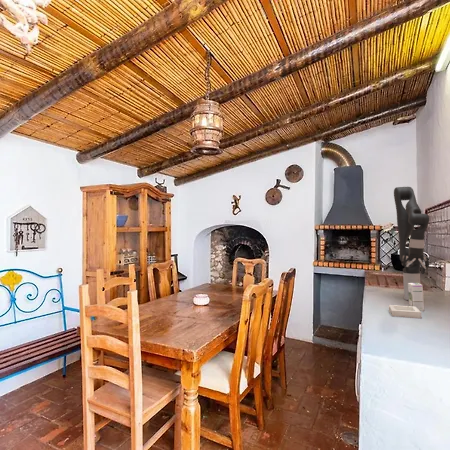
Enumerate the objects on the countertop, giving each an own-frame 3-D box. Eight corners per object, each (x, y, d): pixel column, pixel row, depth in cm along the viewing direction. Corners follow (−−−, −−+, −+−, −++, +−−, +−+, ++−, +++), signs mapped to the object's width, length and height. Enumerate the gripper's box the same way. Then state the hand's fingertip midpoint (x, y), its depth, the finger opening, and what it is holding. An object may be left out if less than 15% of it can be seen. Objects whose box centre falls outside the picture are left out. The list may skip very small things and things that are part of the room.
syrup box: (424, 310, 165) (423, 284, 166) (412, 310, 166) (411, 284, 167) (420, 308, 171) (418, 282, 171) (408, 308, 172) (407, 282, 172)
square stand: (388, 310, 167) (388, 305, 168) (416, 312, 163) (415, 306, 163) (392, 316, 155) (391, 310, 156) (421, 318, 151) (421, 312, 151)
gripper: (426, 246, 183) (424, 272, 184) (401, 245, 185) (399, 271, 186) (432, 248, 175) (430, 275, 176) (406, 247, 178) (404, 273, 179)
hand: (414, 273), depth 181 cm, fingers open, 8 cm apart
